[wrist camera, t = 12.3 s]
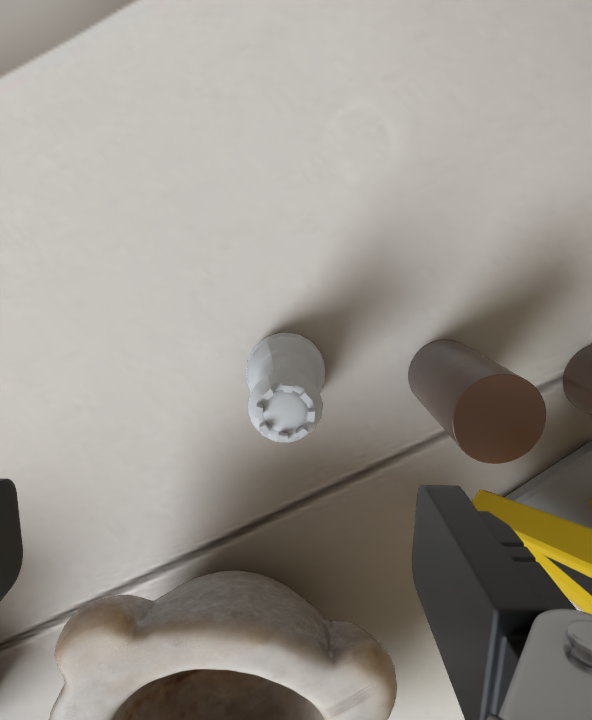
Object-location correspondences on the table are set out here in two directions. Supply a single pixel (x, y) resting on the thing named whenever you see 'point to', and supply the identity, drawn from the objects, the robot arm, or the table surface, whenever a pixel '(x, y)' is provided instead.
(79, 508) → the table surface
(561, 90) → the table surface
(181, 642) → the mortar
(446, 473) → the table surface
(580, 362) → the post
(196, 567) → the table surface
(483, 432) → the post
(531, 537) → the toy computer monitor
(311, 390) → the rook chess piece
